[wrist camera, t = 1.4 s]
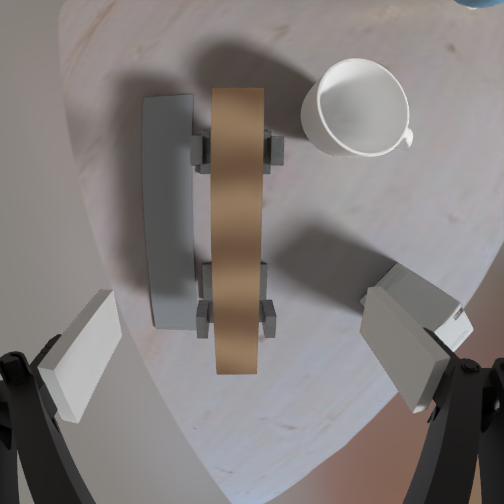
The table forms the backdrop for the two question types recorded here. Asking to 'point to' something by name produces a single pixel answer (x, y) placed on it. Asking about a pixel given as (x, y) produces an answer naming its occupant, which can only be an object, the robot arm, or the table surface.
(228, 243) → the rail
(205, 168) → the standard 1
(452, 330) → the skincare box
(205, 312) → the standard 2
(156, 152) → the mat
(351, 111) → the mug
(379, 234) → the table surface
